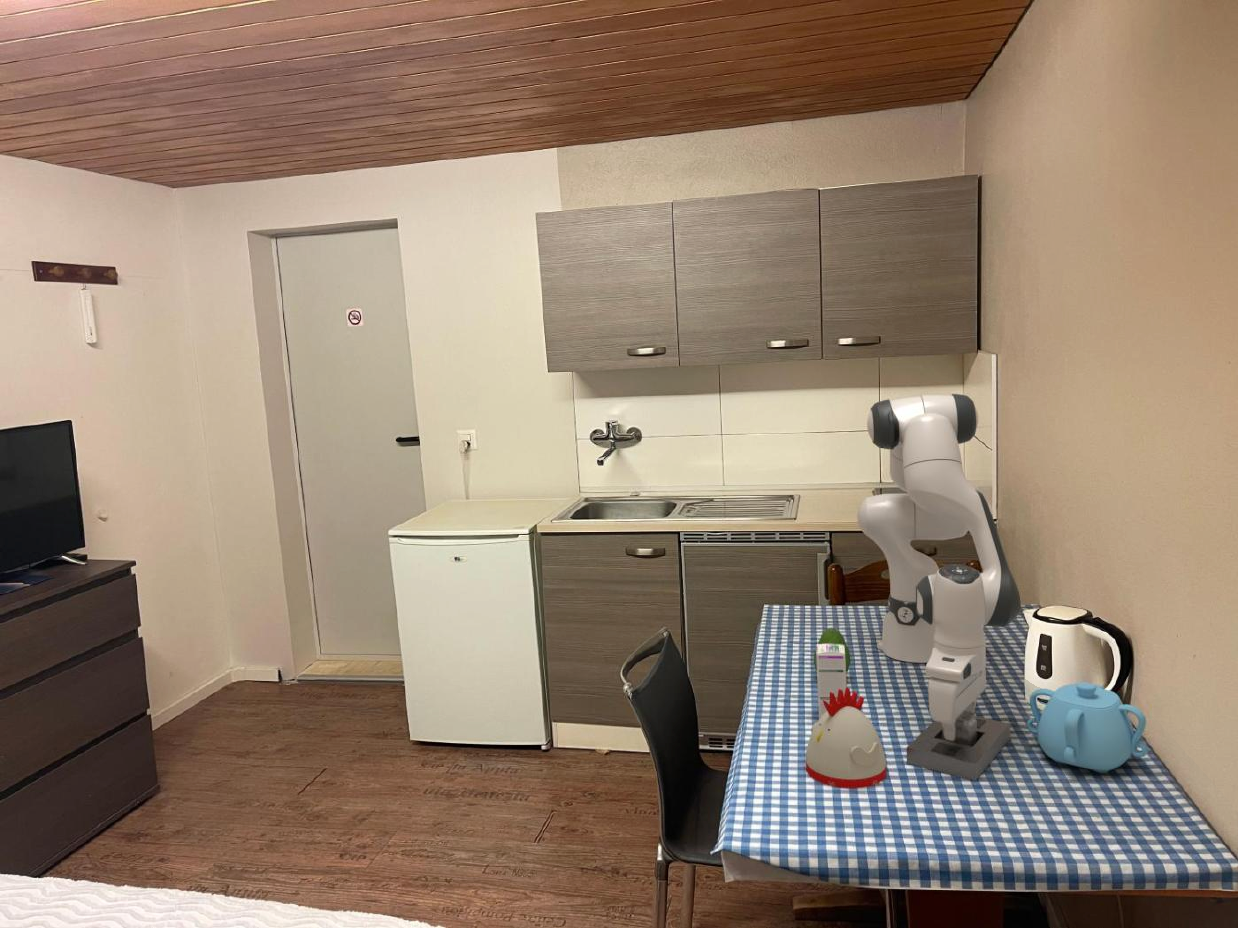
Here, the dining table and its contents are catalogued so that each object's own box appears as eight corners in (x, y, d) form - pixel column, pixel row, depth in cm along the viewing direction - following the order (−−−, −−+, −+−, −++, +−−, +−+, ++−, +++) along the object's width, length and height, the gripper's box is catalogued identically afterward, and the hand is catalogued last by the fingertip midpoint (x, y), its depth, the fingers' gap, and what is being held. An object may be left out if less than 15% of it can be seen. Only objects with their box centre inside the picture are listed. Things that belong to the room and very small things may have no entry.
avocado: (836, 688, 198) (835, 635, 197) (807, 680, 204) (806, 628, 203) (857, 679, 203) (857, 627, 202) (828, 671, 209) (827, 620, 208)
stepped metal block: (949, 743, 169) (949, 707, 168) (978, 749, 166) (978, 713, 165) (940, 751, 166) (940, 715, 165) (970, 759, 162) (970, 721, 161)
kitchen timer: (790, 762, 164) (788, 683, 162) (852, 746, 169) (851, 669, 168) (837, 795, 151) (836, 709, 150) (903, 777, 157) (902, 694, 155)
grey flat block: (945, 724, 177) (945, 709, 177) (1009, 738, 170) (1009, 722, 169) (906, 763, 162) (906, 746, 161) (975, 780, 154) (975, 763, 154)
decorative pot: (1156, 779, 152) (1159, 701, 150) (1058, 780, 153) (1060, 703, 151) (1109, 738, 168) (1111, 667, 167) (1020, 739, 169) (1021, 669, 167)
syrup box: (848, 723, 180) (847, 652, 178) (817, 721, 181) (816, 651, 179) (846, 711, 186) (845, 643, 184) (817, 710, 187) (816, 642, 185)
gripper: (960, 637, 173) (960, 706, 175) (921, 669, 158) (922, 745, 159) (994, 643, 169) (994, 713, 171) (958, 676, 154) (958, 753, 155)
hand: (959, 729), depth 165 cm, fingers open, 8 cm apart
